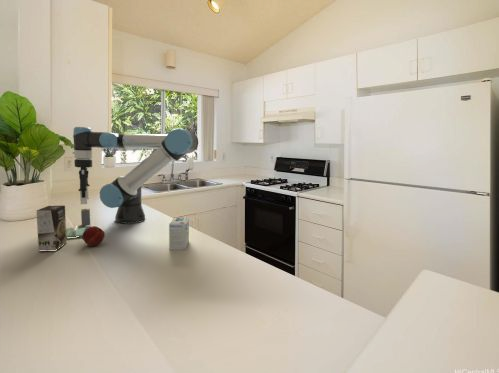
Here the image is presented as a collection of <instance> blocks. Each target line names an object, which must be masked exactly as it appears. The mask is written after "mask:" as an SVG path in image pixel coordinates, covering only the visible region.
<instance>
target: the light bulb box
mask: <svg viewBox="0 0 499 373" xmlns="http://www.w3.org/2000/svg"><path fill="white" fill-rule="evenodd" d="M168 234H169V236H168V246H169V247H168V249H169V250H172V251H173V250H175V251H176V250H177V251H181V250H182V251H184V250H186V249H187V247H188V244H189V241H190V240H189V238H190V218H189V217H173V218H172V220H171V222H170V223H169V226H168Z"/></svg>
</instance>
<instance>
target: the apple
mask: <svg viewBox="0 0 499 373" xmlns="http://www.w3.org/2000/svg"><path fill="white" fill-rule="evenodd" d="M105 234H106V233H105V231H104V230H103V229H102V228H101V227H99V226H96V225H95V226H94V225H93V226H91V227H90V228H88V229H87V230H86V231H84V233H83V235H82V238H81V239H82V240H83V241H84V243H85V244H86V245H87V246H90V247H96V246H99V245H100V244H101V243H102V242H103V240H104V238H105Z"/></svg>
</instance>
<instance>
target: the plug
mask: <svg viewBox="0 0 499 373" xmlns="http://www.w3.org/2000/svg"><path fill="white" fill-rule="evenodd" d="M80 210H81V211H80V212H81V214H80V216H81V217H80V219H81V227H85V226H86V225H91V209H90V208H87V207H84V208H81V209H80Z"/></svg>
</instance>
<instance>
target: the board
mask: <svg viewBox="0 0 499 373" xmlns="http://www.w3.org/2000/svg"><path fill="white" fill-rule="evenodd" d="M90 227H92V225H91V224H90V225H86V226H84V227H79V225H75V227H74V228H68V229H67V228H66V237H76V236H79V237H81V238H80V239H83V238H82V235H83V233H84V231H86V230H87V229H88V228H90Z"/></svg>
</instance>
